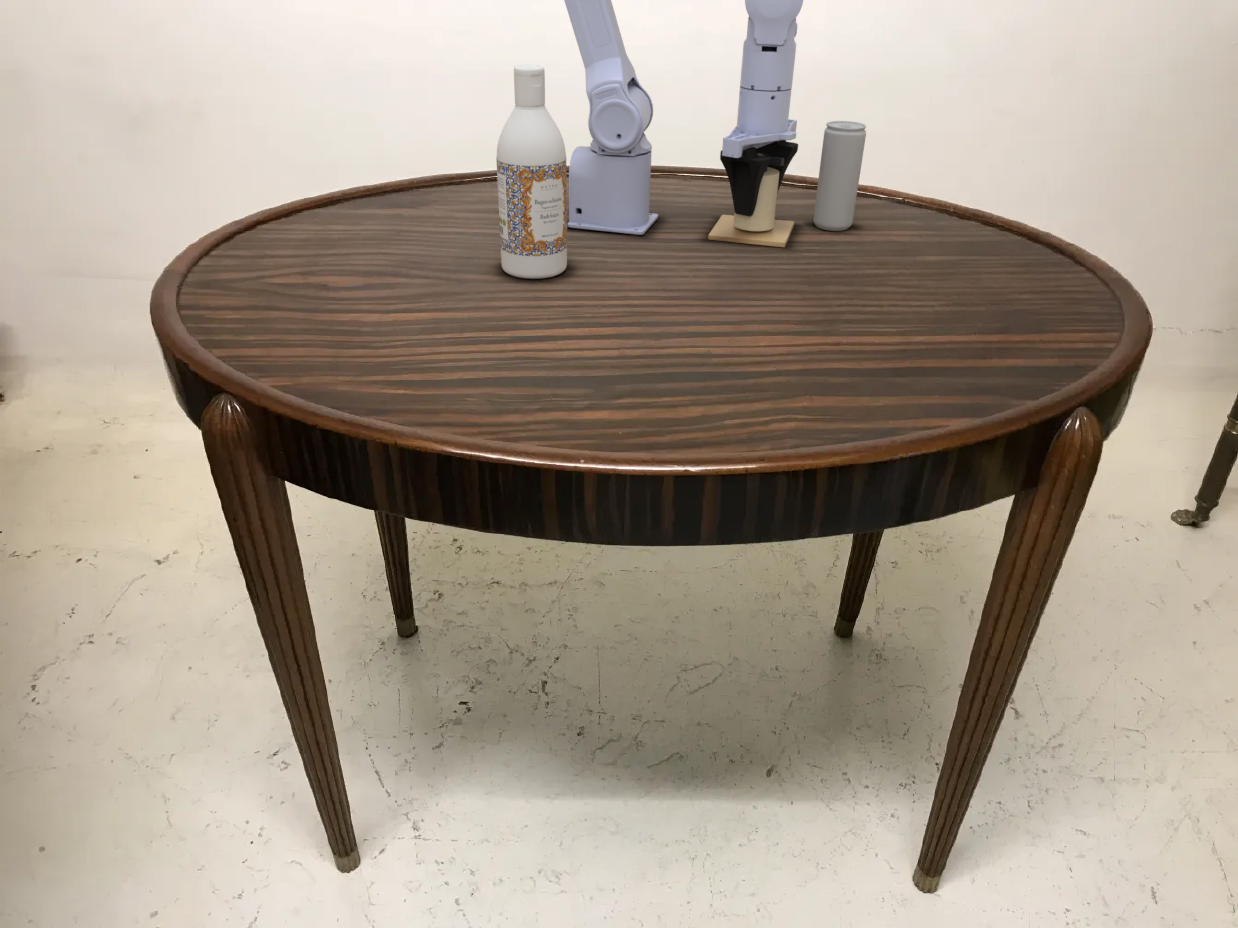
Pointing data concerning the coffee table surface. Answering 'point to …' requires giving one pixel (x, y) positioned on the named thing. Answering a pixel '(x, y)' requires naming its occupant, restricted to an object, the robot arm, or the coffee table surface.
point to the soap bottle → (763, 201)
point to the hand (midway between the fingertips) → (754, 209)
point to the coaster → (751, 233)
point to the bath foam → (532, 183)
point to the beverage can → (839, 175)
